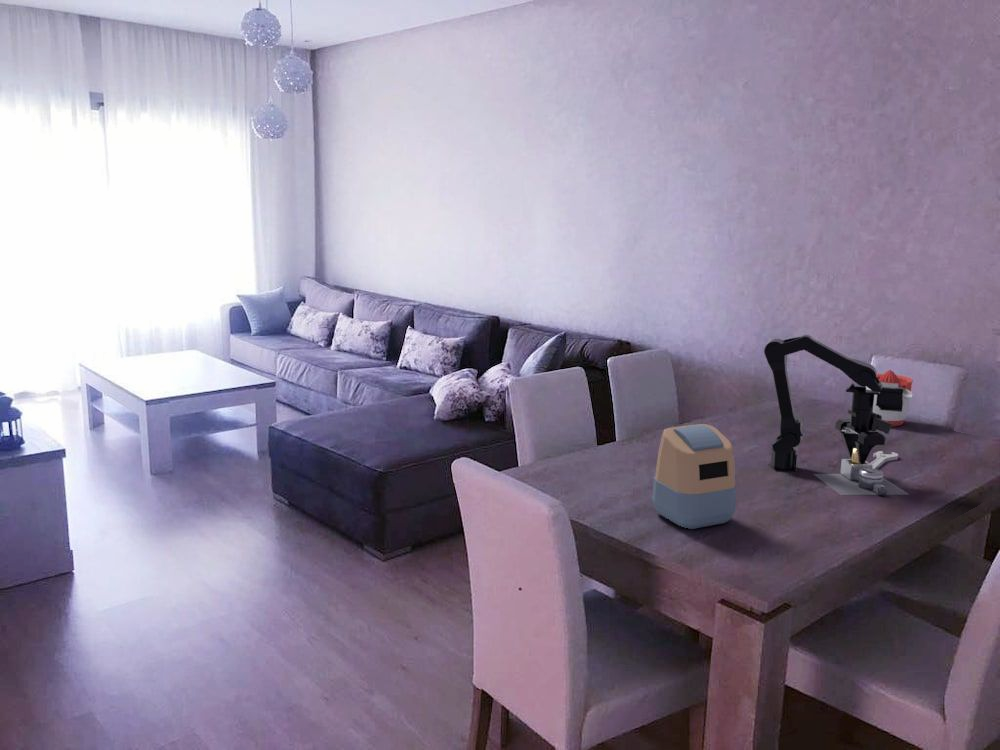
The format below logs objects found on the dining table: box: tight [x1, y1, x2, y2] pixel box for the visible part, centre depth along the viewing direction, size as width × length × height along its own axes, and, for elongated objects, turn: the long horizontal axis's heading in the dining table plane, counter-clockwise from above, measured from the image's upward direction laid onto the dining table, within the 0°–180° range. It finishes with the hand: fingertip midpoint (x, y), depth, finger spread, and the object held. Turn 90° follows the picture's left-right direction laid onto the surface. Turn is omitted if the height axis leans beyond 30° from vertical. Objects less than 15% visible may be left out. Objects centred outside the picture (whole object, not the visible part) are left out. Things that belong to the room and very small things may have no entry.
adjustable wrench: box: [869, 450, 899, 469], centre depth 248 cm, size 25×6×2 cm, turn 135°
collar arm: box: [840, 458, 888, 496], centre depth 227 cm, size 20×6×4 cm, turn 2°
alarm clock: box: [651, 423, 737, 530], centre depth 201 cm, size 17×17×23 cm
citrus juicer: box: [866, 369, 914, 427], centre depth 294 cm, size 16×17×20 cm
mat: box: [813, 473, 909, 496], centre depth 229 cm, size 19×18×1 cm
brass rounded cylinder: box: [851, 447, 861, 464], centre depth 233 cm, size 3×3×8 cm
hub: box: [858, 468, 884, 491], centre depth 225 cm, size 6×6×5 cm
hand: (857, 460), depth 233 cm, fingers open, 6 cm apart
